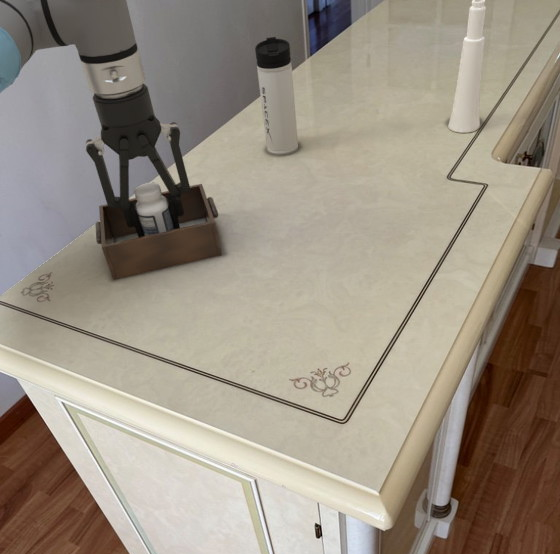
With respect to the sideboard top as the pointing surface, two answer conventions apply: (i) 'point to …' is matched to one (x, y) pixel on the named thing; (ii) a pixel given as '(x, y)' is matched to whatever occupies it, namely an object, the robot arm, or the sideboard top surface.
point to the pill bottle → (153, 209)
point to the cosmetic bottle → (470, 74)
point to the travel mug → (277, 96)
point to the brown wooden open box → (159, 238)
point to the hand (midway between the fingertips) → (161, 237)
